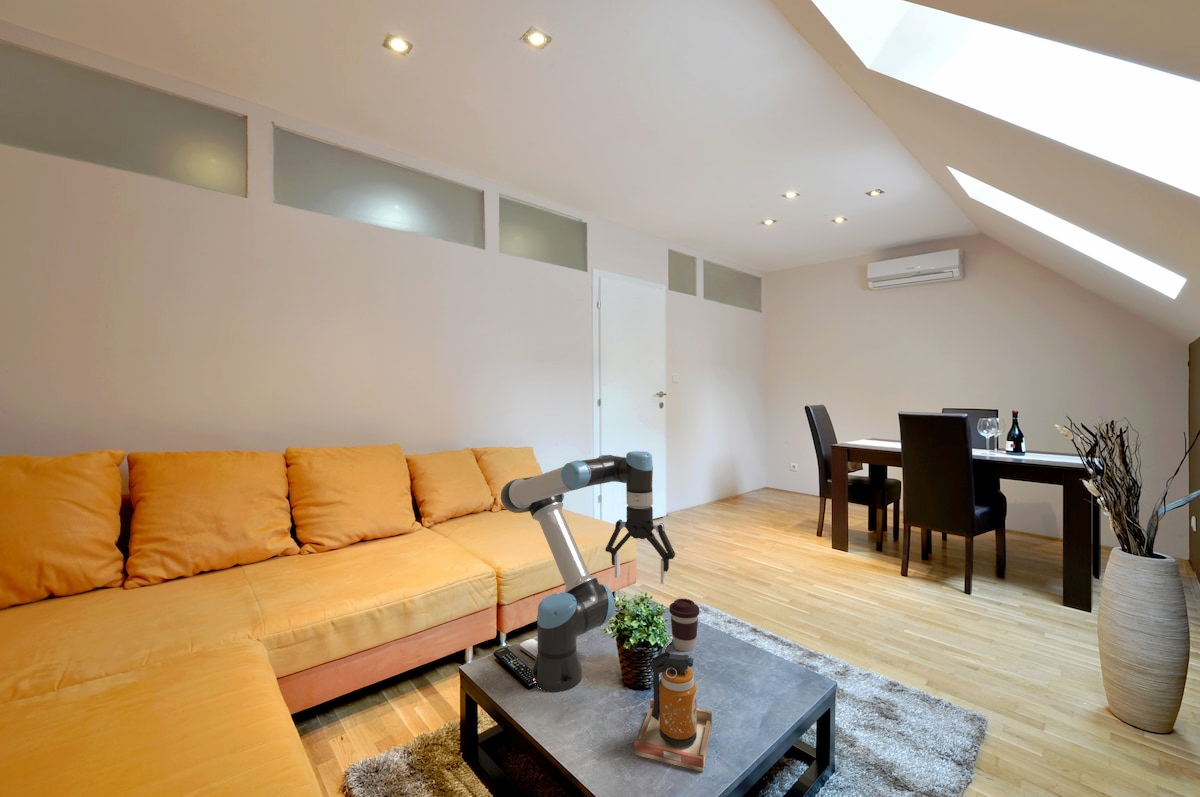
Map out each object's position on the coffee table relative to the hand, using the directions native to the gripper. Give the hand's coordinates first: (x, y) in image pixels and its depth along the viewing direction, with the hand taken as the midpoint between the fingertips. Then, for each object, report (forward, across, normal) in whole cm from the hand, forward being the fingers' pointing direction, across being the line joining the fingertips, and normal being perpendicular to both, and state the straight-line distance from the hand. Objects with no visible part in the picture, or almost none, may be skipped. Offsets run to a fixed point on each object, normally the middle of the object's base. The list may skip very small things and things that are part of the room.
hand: (639, 579), depth 139 cm
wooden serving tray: (+32, +14, -18) cm, 39 cm away
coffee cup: (+32, +8, +27) cm, 43 cm away
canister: (+31, +13, -17) cm, 38 cm away
